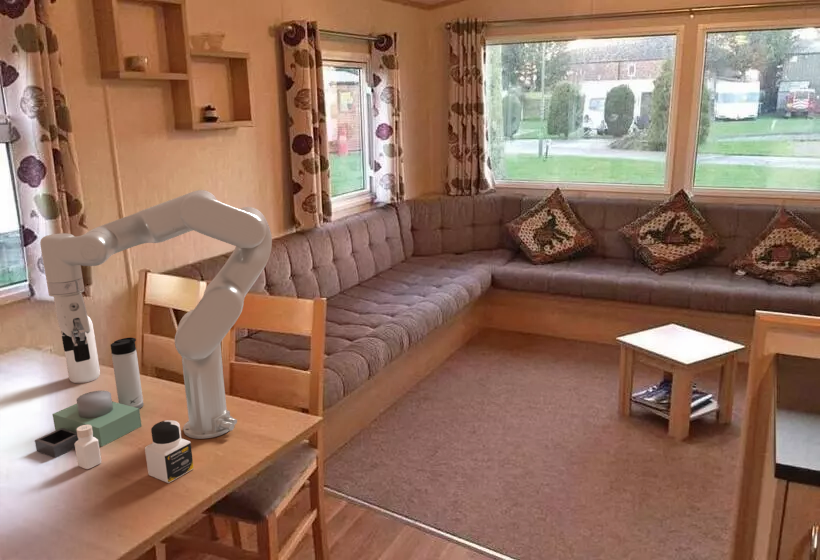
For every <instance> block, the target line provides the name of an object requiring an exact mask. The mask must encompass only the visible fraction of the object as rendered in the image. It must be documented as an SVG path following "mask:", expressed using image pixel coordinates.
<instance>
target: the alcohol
mask: <svg viewBox="0 0 820 560" xmlns="http://www.w3.org/2000/svg"><path fill="white" fill-rule="evenodd" d="M87 316H88V314H87ZM88 321H89V326H90V332H89V333H86V332H85V335H86V337H87V342H88V347H89V353H90V359H89V360H85V361H81V362H76V361H75V357H74V351H73V350H71V351H67V352H65V351H64V357H65V364H66V367H67V368H66V369H67V373H68V374H67V375H68V379H69V381H70V382H71V383H74V384H87V383H89V382H93V381H96V380H97V379H99V377H100V376H101V371H100V369H101V368H100V363H99V355H98V349H97V341H96V336H95V331H94V324H93V321H92V319H91V317H90V316H88ZM75 333H76V332H75ZM63 336H64V335H63ZM77 337H78V336H77Z"/></svg>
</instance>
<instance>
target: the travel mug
mask: <svg viewBox="0 0 820 560" xmlns="http://www.w3.org/2000/svg"><path fill="white" fill-rule="evenodd" d="M136 341H137V339H136V337H125V338H120V339H118V340H114V341H113V342H112V343H110V351H111V358H112V359H111V360H112V366H113V373H114V381H115V385H116V386H115V388H116V393H117V401H118V402H117V403H120V404H124V405H128V406H131V407H135V408H139V410H140V409H141V408H143V407H144V396H143V391H142V390H143V389H142V384H141V383H142V382H141V377H140V376H141V375H140V368H139V367H140V366H139V359H138V353H137V347H136Z"/></svg>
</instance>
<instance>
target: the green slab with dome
mask: <svg viewBox="0 0 820 560" xmlns="http://www.w3.org/2000/svg"><path fill="white" fill-rule="evenodd" d="M112 400H113V399H112V393H111V392H110V391H109V390H108V391H107V390H94V391H90V392H86V393H84V394H82V395H79V396H78V397H77V398H76V403H75V404H72V405H71V406H67V407H66V408H64V409H61V410H59V411H56V412H54V413H52V419H53V425H54V431H56V430H58V429H60V428H65V429H68V430H71V431H74V432H77V430H76V429H77V428H78V427H80V426H82V425H91V426H92V431H93V437H95V438H97V439H98V442H99V447H102V448H103V447H104V446H106V445H108V444H110V443H112V442H113V441H115V440H118V439H119V438H122V437H123V436H125V435H127V434H129V433H132V432H133V431H135V430H137V429H139V428H140V427H142V426H143V425H142V420H141V412H140V409H139V408H135V407H131V406H128V405H124V404H120V403H119V402H116V401H112Z"/></svg>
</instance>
